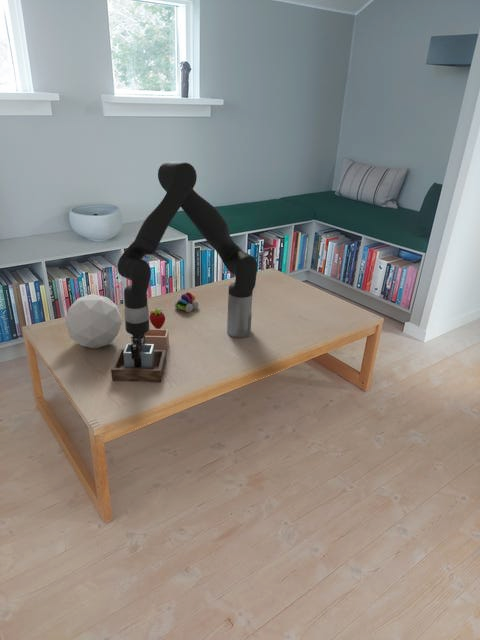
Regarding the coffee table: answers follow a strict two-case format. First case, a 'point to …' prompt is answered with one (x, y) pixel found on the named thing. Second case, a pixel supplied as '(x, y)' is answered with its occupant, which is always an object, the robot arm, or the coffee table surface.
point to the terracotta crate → (158, 338)
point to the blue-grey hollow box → (146, 357)
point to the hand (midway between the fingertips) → (139, 361)
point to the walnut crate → (139, 374)
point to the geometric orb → (93, 321)
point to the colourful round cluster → (186, 302)
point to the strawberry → (157, 318)
